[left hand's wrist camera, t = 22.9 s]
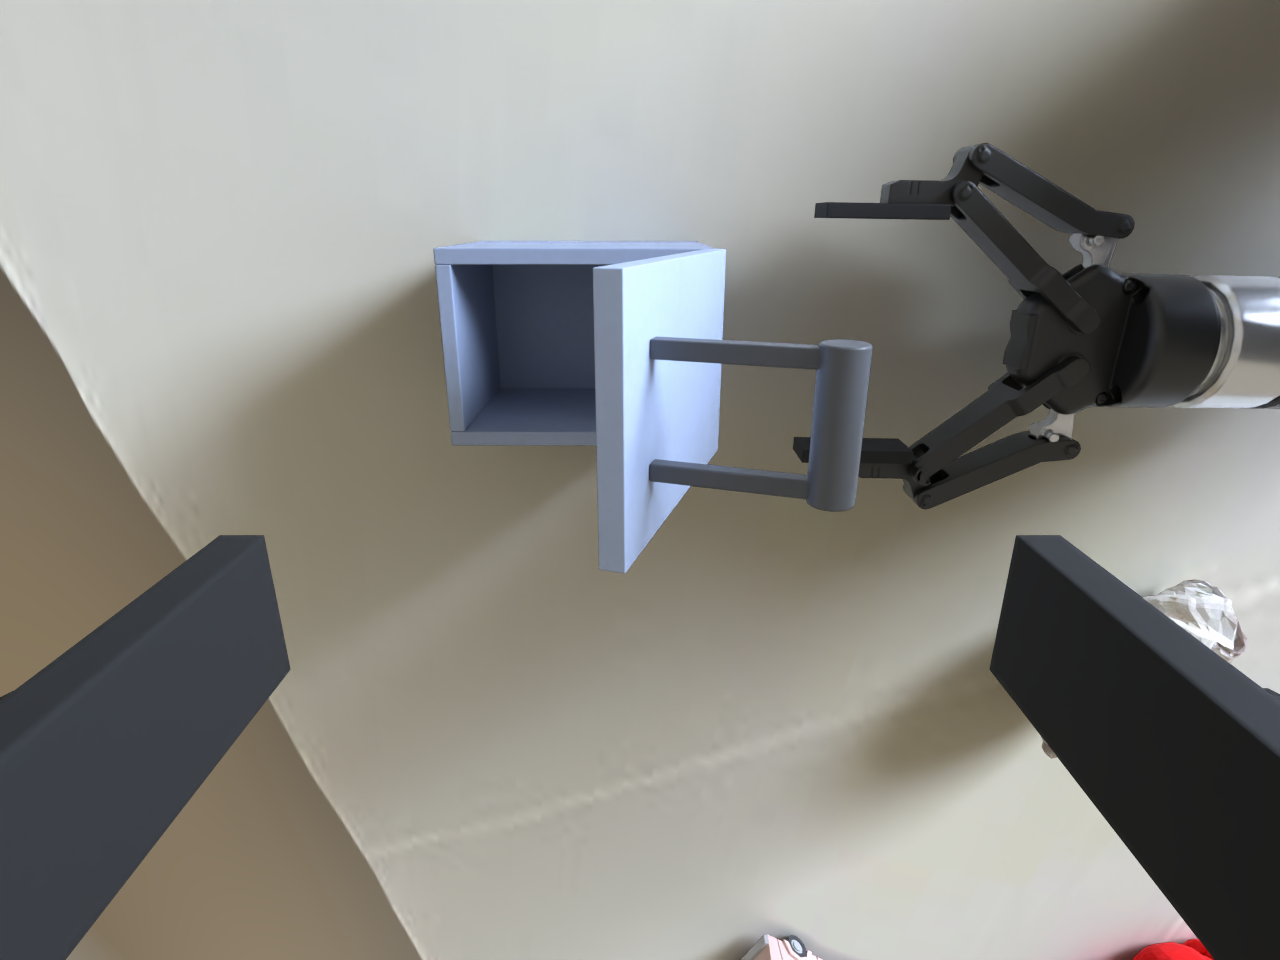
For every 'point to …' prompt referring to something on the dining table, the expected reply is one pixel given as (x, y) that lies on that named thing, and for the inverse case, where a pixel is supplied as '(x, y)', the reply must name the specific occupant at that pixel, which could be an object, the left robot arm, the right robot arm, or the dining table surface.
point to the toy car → (779, 950)
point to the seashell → (1199, 620)
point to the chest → (525, 336)
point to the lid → (699, 400)
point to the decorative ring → (1175, 951)
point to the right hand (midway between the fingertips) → (807, 336)
